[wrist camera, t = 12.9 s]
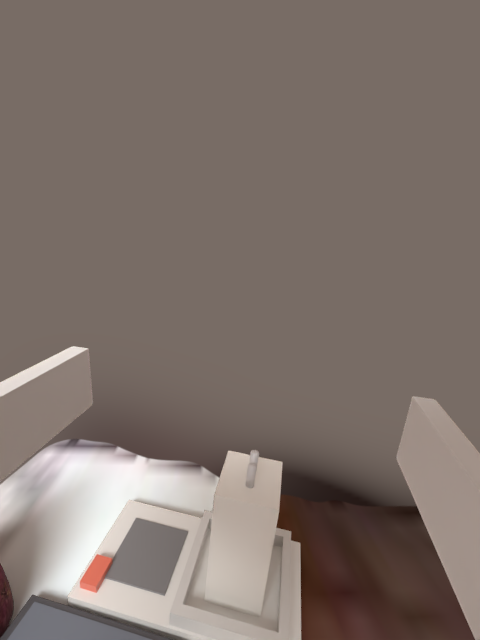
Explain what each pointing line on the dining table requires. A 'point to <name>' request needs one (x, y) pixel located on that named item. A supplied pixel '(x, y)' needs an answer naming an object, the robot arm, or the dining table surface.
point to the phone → (68, 624)
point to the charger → (243, 531)
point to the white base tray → (182, 580)
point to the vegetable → (5, 602)
